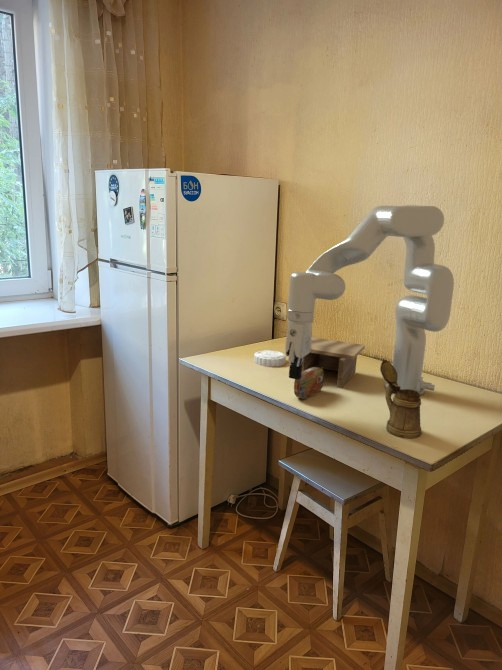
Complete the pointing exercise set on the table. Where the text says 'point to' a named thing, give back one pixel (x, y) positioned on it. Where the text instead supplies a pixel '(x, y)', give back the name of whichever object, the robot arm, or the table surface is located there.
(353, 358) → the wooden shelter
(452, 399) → the table surface
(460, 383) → the table surface
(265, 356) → the mooncake
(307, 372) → the tin
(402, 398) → the wooden mug
